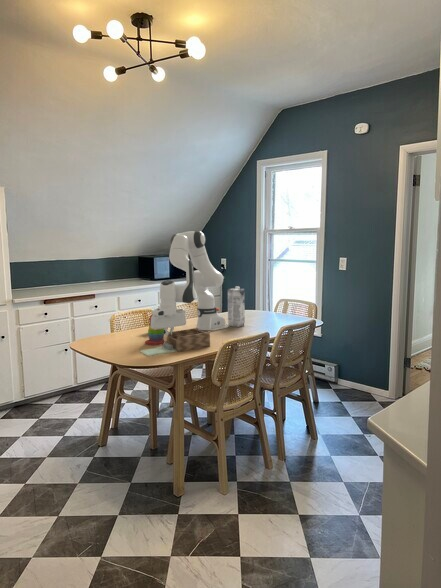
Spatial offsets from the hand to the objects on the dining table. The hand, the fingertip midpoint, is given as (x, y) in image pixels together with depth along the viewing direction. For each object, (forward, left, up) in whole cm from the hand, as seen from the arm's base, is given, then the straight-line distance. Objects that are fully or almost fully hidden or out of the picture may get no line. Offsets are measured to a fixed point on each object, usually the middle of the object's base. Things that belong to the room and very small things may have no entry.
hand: (169, 335), depth 239 cm
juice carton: (-65, -29, -8) cm, 72 cm away
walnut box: (-12, 0, -8) cm, 15 cm away
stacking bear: (0, -18, -9) cm, 20 cm away
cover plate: (+7, -1, -9) cm, 11 cm away
